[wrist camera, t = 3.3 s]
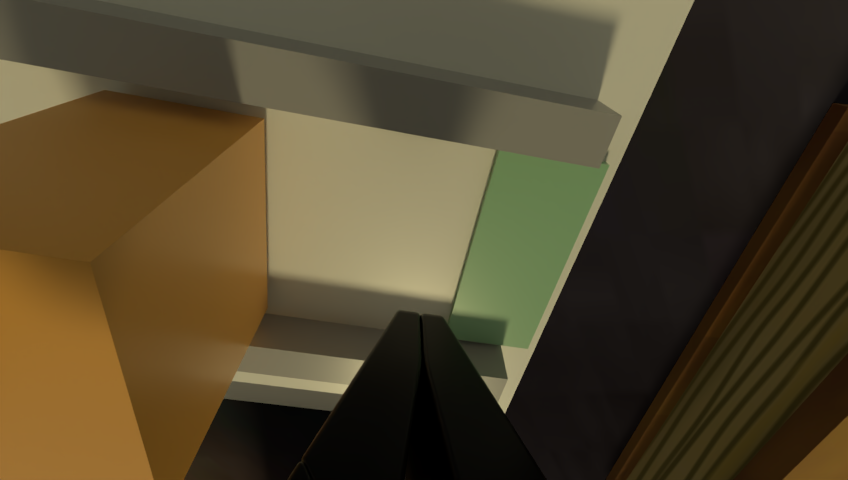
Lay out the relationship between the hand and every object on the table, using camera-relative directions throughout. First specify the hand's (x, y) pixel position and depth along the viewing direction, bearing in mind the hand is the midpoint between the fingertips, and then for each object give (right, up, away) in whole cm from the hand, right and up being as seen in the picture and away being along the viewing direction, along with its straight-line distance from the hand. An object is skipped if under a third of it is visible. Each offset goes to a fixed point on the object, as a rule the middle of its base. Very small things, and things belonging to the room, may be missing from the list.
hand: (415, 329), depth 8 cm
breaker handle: (-5, +2, +2) cm, 6 cm away
